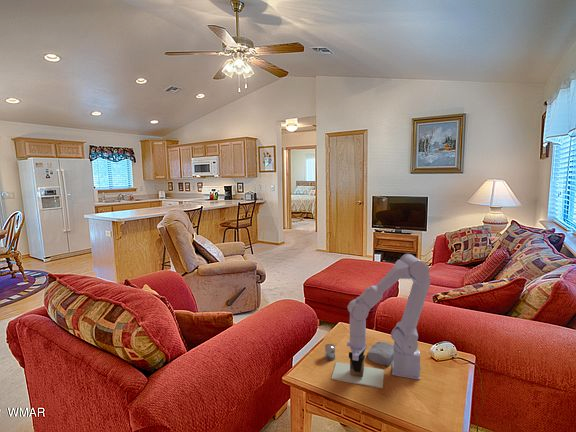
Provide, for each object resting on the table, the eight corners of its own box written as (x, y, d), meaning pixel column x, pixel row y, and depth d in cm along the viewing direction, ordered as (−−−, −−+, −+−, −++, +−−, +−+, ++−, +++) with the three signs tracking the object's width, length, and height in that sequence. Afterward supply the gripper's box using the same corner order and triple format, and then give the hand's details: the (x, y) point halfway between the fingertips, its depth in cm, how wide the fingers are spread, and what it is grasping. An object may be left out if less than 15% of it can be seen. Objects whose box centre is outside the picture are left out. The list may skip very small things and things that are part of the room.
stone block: (366, 364, 128) (391, 367, 122) (364, 352, 128) (388, 355, 122) (377, 350, 138) (400, 353, 132) (375, 339, 137) (398, 342, 131)
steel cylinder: (336, 355, 131) (335, 344, 130) (334, 361, 127) (334, 349, 127) (326, 354, 132) (326, 342, 132) (324, 359, 129) (324, 348, 128)
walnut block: (364, 369, 120) (363, 354, 119) (362, 377, 116) (362, 361, 115) (351, 367, 121) (351, 353, 120) (350, 374, 117) (349, 359, 116)
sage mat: (383, 370, 120) (383, 369, 120) (382, 388, 111) (382, 387, 111) (336, 363, 126) (336, 361, 126) (331, 379, 117) (331, 378, 117)
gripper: (349, 322, 124) (349, 354, 126) (343, 341, 111) (343, 377, 113) (368, 324, 122) (368, 357, 124) (364, 344, 108) (364, 381, 110)
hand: (357, 367), depth 118 cm, fingers closed on walnut block, 4 cm apart
